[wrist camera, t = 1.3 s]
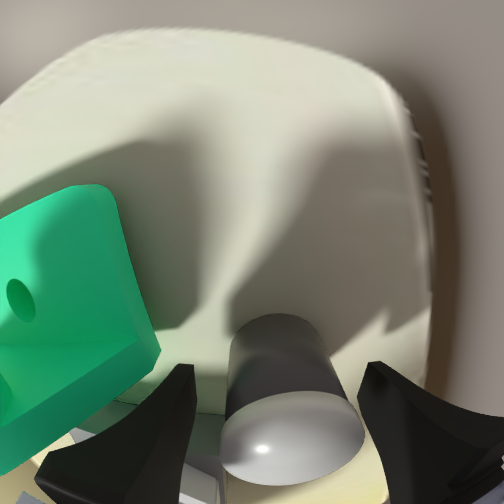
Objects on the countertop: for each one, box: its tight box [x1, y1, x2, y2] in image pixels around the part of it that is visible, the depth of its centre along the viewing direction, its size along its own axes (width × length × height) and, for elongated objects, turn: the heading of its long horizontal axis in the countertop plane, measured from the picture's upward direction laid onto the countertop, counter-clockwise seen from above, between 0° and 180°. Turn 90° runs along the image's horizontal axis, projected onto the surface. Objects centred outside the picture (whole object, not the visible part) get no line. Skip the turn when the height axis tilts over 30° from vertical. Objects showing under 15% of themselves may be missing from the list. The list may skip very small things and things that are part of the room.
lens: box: [219, 314, 365, 485], centre depth 10 cm, size 5×5×6 cm
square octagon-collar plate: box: [69, 400, 227, 504], centre depth 12 cm, size 9×9×5 cm
